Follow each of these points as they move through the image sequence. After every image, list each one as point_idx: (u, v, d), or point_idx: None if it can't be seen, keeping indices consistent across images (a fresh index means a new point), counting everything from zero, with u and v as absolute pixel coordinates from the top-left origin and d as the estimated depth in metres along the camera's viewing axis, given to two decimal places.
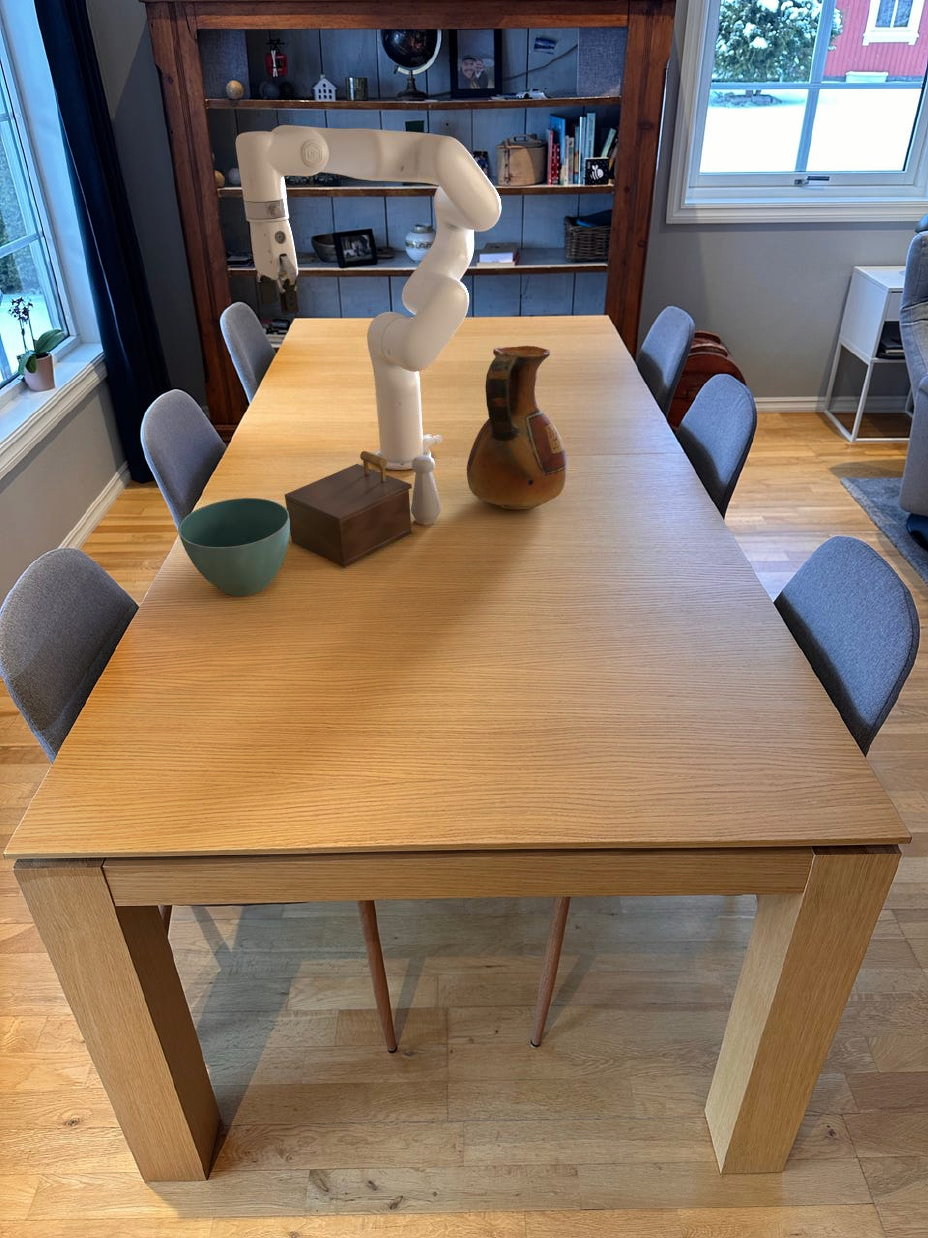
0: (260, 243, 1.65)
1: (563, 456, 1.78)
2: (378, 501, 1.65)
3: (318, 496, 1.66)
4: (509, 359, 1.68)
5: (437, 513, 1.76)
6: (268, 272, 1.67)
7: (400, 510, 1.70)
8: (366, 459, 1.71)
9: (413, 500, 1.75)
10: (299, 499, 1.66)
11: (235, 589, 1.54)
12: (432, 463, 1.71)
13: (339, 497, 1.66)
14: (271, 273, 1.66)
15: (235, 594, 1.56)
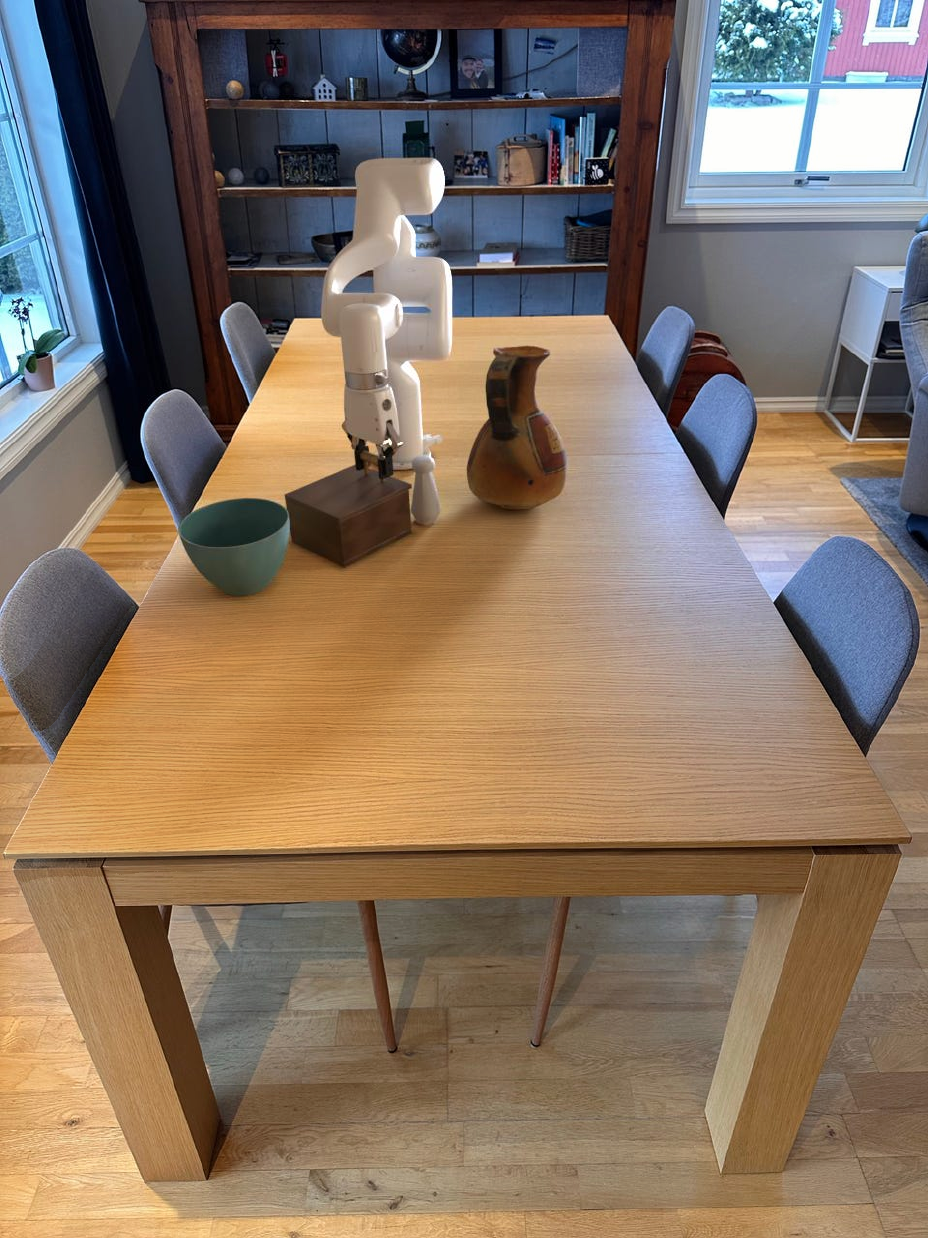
0: (363, 411, 1.63)
1: (563, 456, 1.78)
2: (378, 501, 1.65)
3: (318, 496, 1.66)
4: (509, 359, 1.68)
5: (437, 513, 1.76)
6: (371, 438, 1.65)
7: (400, 510, 1.70)
8: (366, 459, 1.71)
9: (413, 500, 1.75)
10: (299, 499, 1.66)
11: (235, 589, 1.54)
12: (432, 463, 1.71)
13: (339, 497, 1.66)
14: (376, 439, 1.64)
15: (235, 594, 1.56)
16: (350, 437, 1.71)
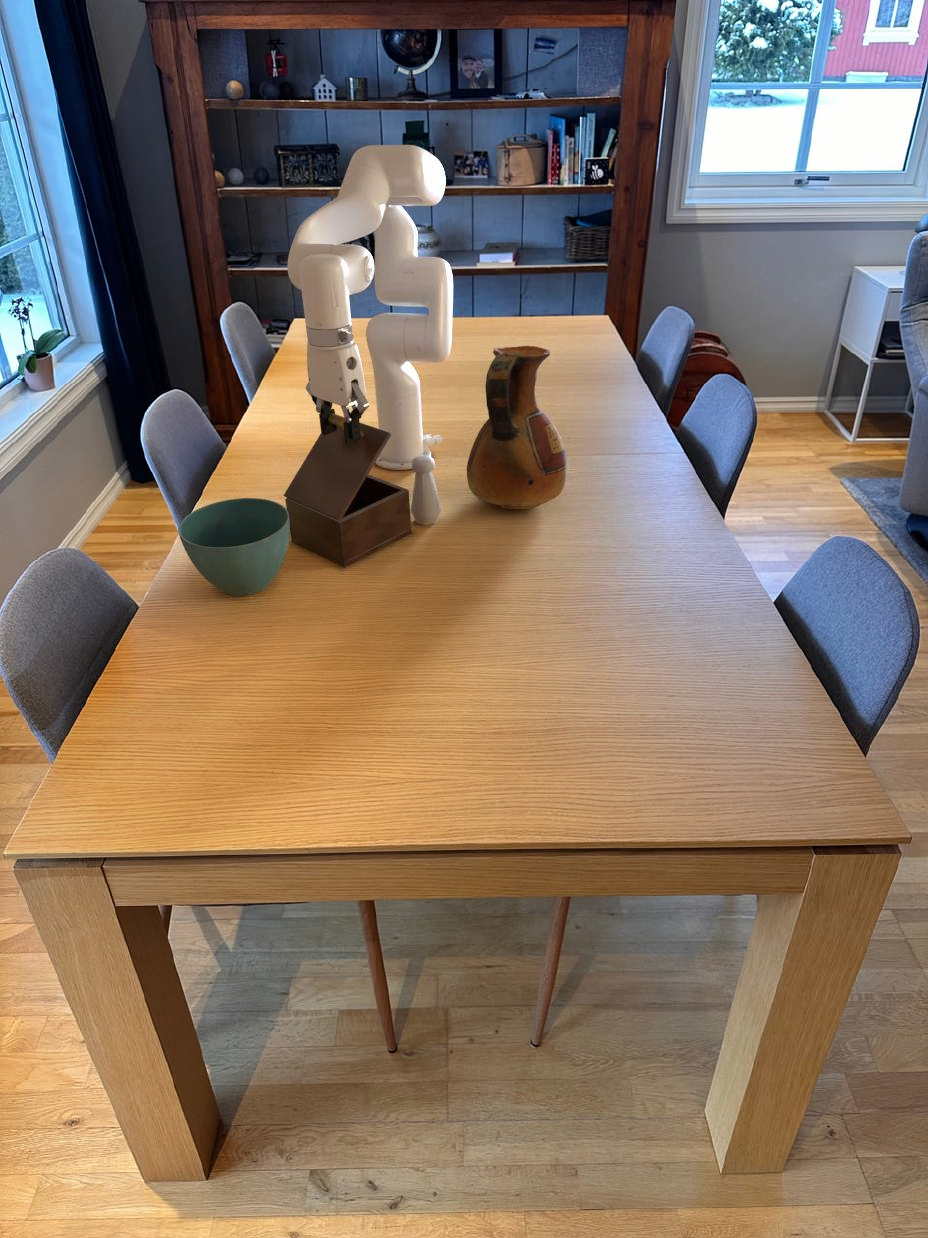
0: (326, 370, 1.53)
1: (563, 456, 1.78)
2: (366, 474, 1.60)
3: (312, 488, 1.65)
4: (509, 359, 1.68)
5: (437, 513, 1.76)
6: (336, 399, 1.56)
7: (400, 510, 1.70)
8: (336, 424, 1.62)
9: (413, 500, 1.75)
10: (297, 499, 1.65)
11: (235, 589, 1.54)
12: (432, 463, 1.71)
13: (330, 482, 1.63)
14: (341, 400, 1.55)
15: (235, 594, 1.56)
16: (315, 399, 1.62)
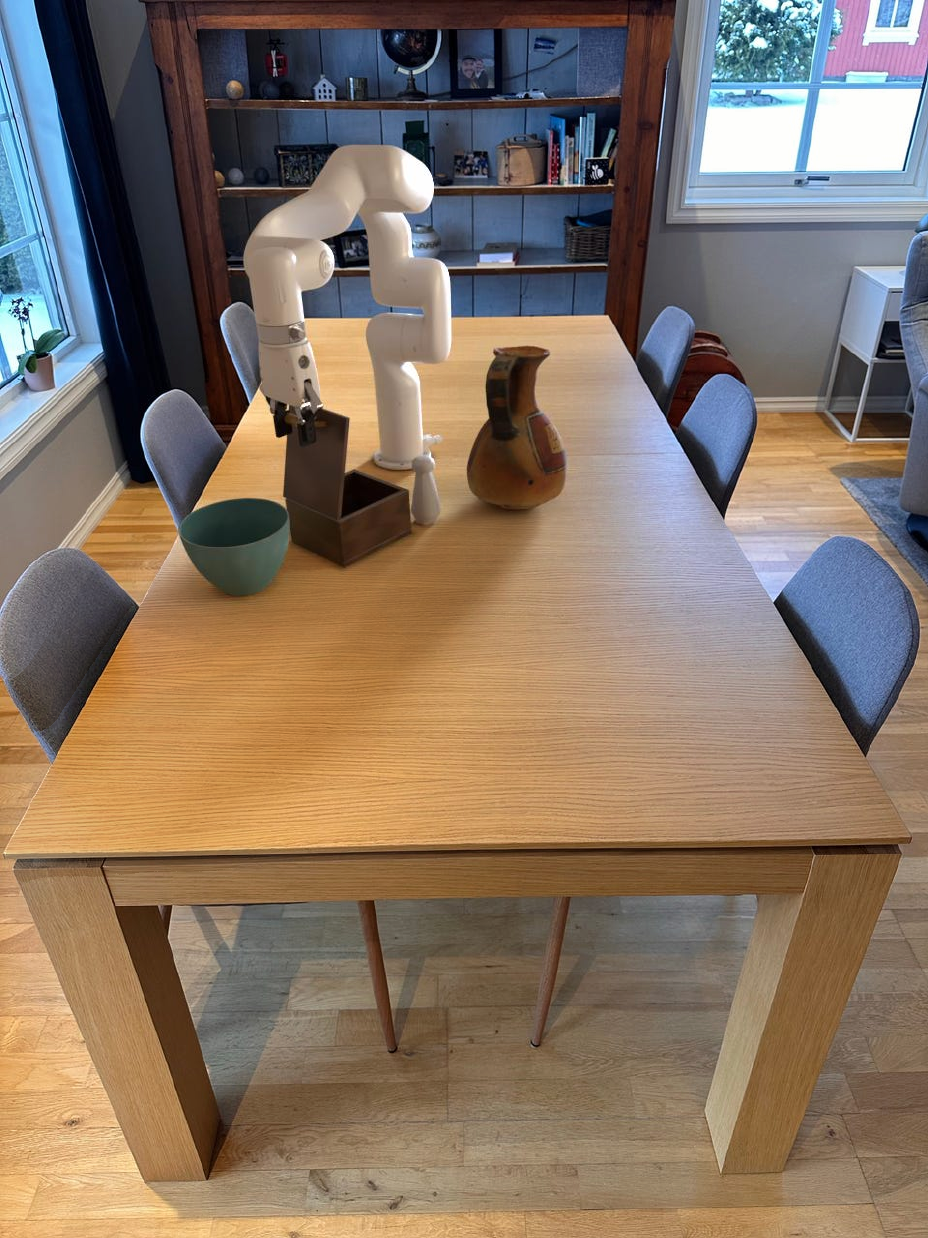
0: (278, 369, 1.46)
1: (563, 456, 1.78)
2: (343, 467, 1.56)
3: (304, 487, 1.63)
4: (509, 359, 1.68)
5: (437, 513, 1.76)
6: (288, 400, 1.48)
7: (400, 510, 1.70)
8: None
9: (413, 500, 1.75)
10: (296, 500, 1.65)
11: (235, 589, 1.54)
12: (432, 463, 1.71)
13: (316, 479, 1.60)
14: (293, 401, 1.48)
15: (235, 594, 1.56)
16: (268, 400, 1.55)
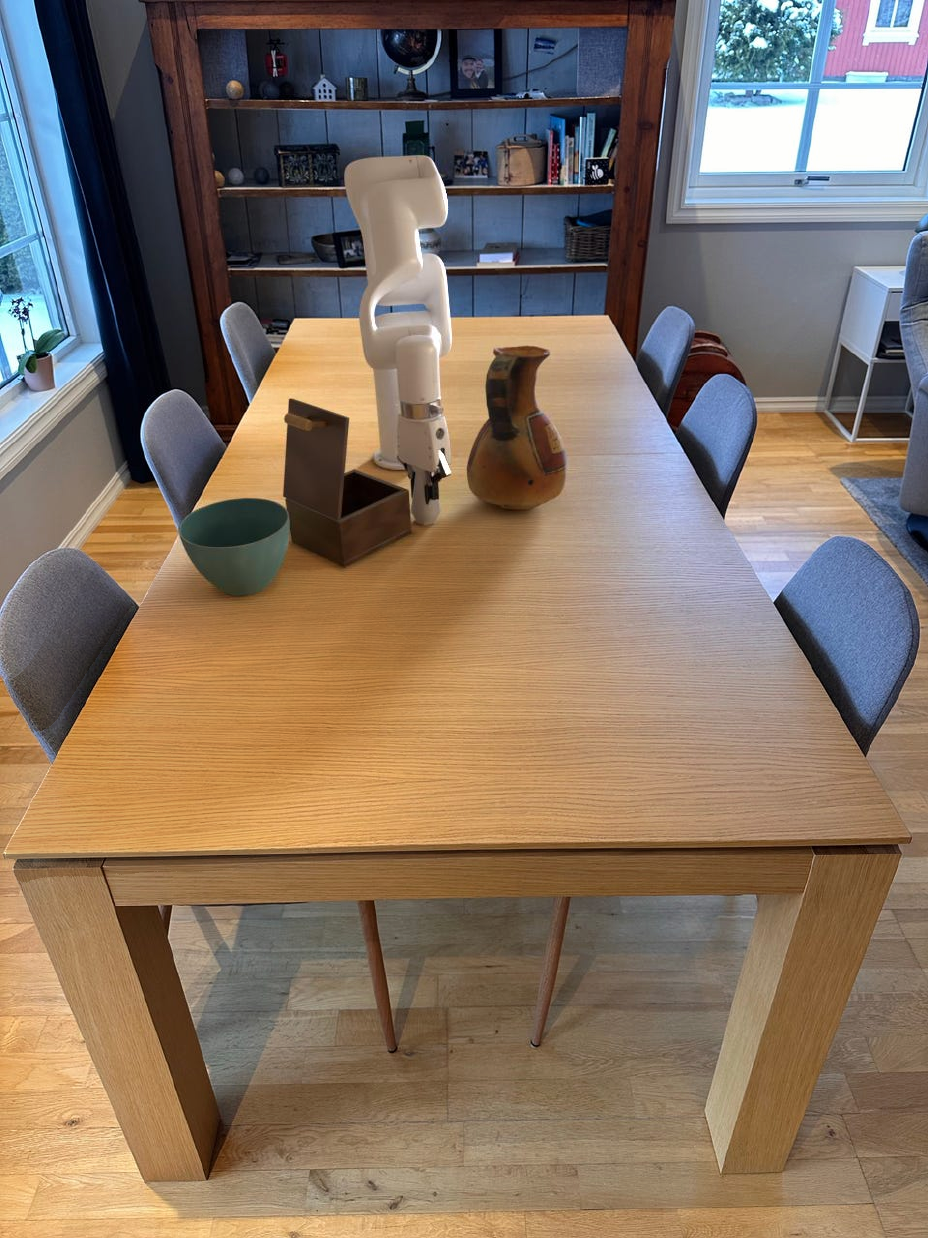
0: (416, 439, 1.67)
1: (563, 456, 1.78)
2: (343, 467, 1.56)
3: (303, 487, 1.63)
4: (509, 359, 1.68)
5: (437, 513, 1.76)
6: (424, 465, 1.69)
7: (400, 510, 1.70)
8: None
9: (413, 500, 1.75)
10: (296, 500, 1.65)
11: (235, 589, 1.54)
12: None
13: (316, 479, 1.60)
14: (428, 466, 1.68)
15: (235, 594, 1.56)
16: (406, 467, 1.75)
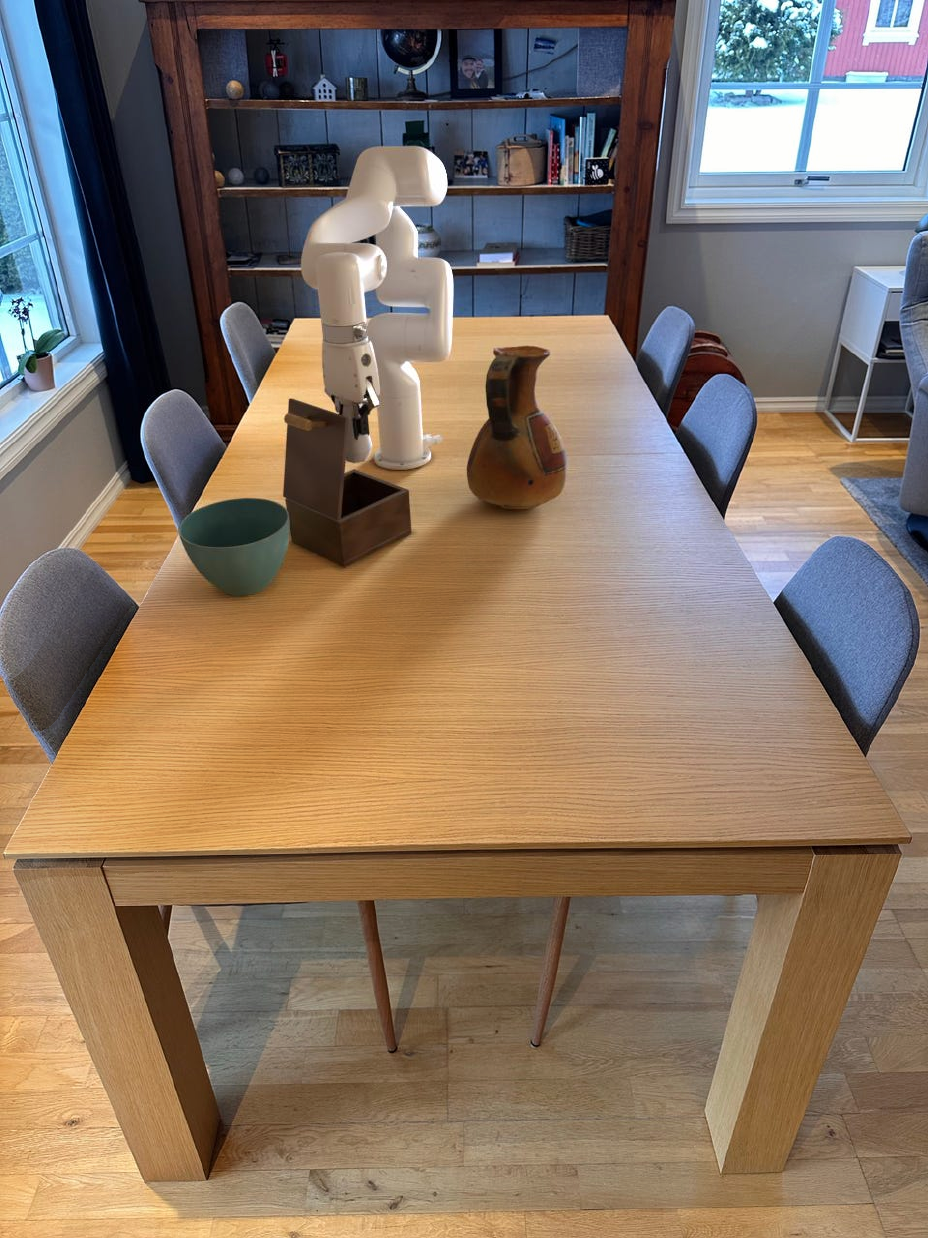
0: (341, 366, 1.56)
1: (563, 456, 1.78)
2: (343, 467, 1.56)
3: (303, 487, 1.63)
4: (509, 359, 1.68)
5: (367, 450, 1.65)
6: (350, 395, 1.58)
7: (400, 510, 1.70)
8: None
9: None
10: (296, 500, 1.65)
11: (235, 589, 1.54)
12: None
13: (316, 479, 1.60)
14: (355, 396, 1.57)
15: (235, 594, 1.56)
16: (334, 399, 1.63)
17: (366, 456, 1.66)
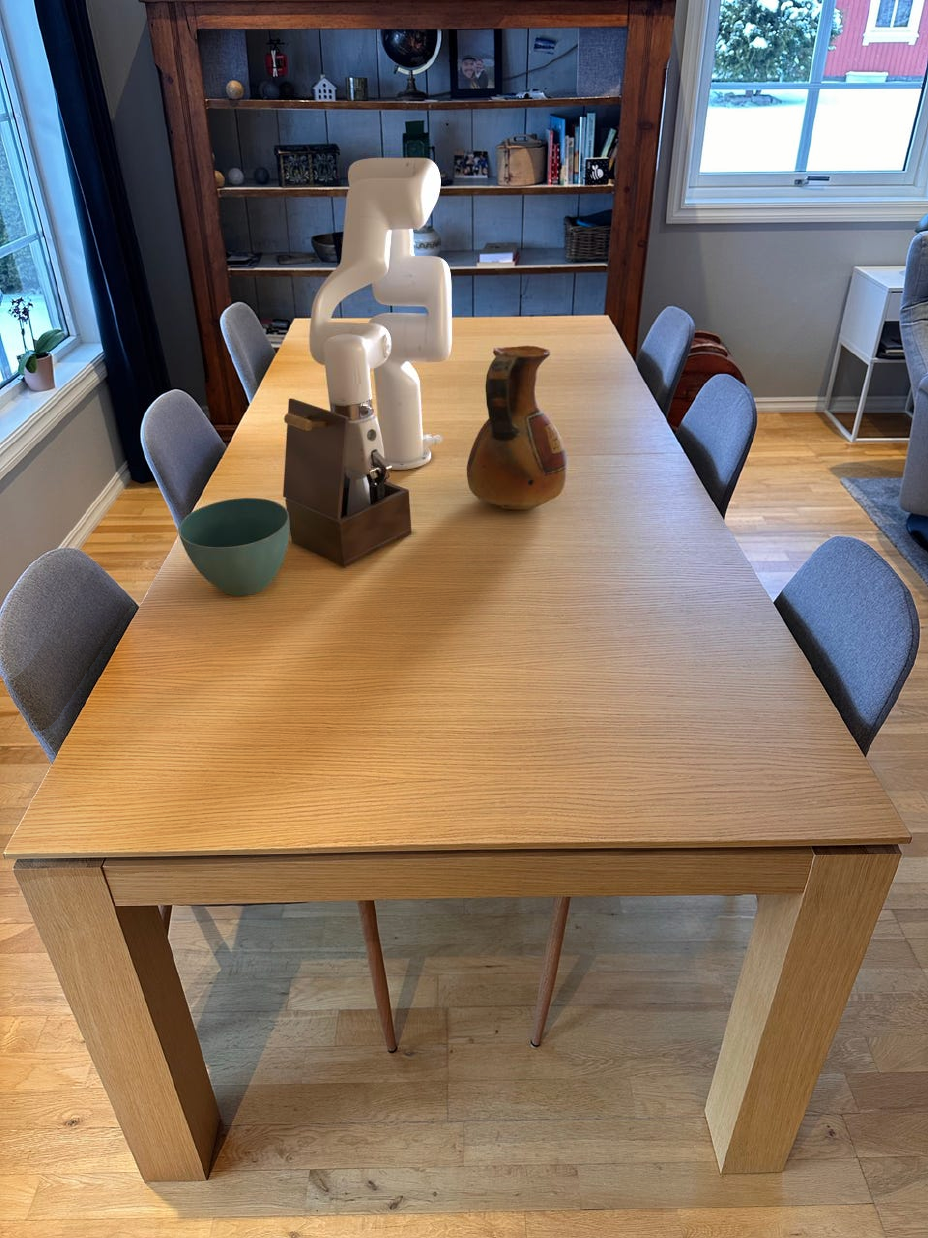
0: (348, 441, 1.63)
1: (563, 456, 1.78)
2: (343, 467, 1.56)
3: (303, 487, 1.63)
4: (509, 359, 1.68)
5: None
6: (356, 467, 1.65)
7: (400, 510, 1.70)
8: None
9: (348, 506, 1.72)
10: (296, 500, 1.65)
11: (235, 589, 1.54)
12: None
13: (316, 479, 1.60)
14: (361, 469, 1.64)
15: (235, 594, 1.56)
16: None
17: None
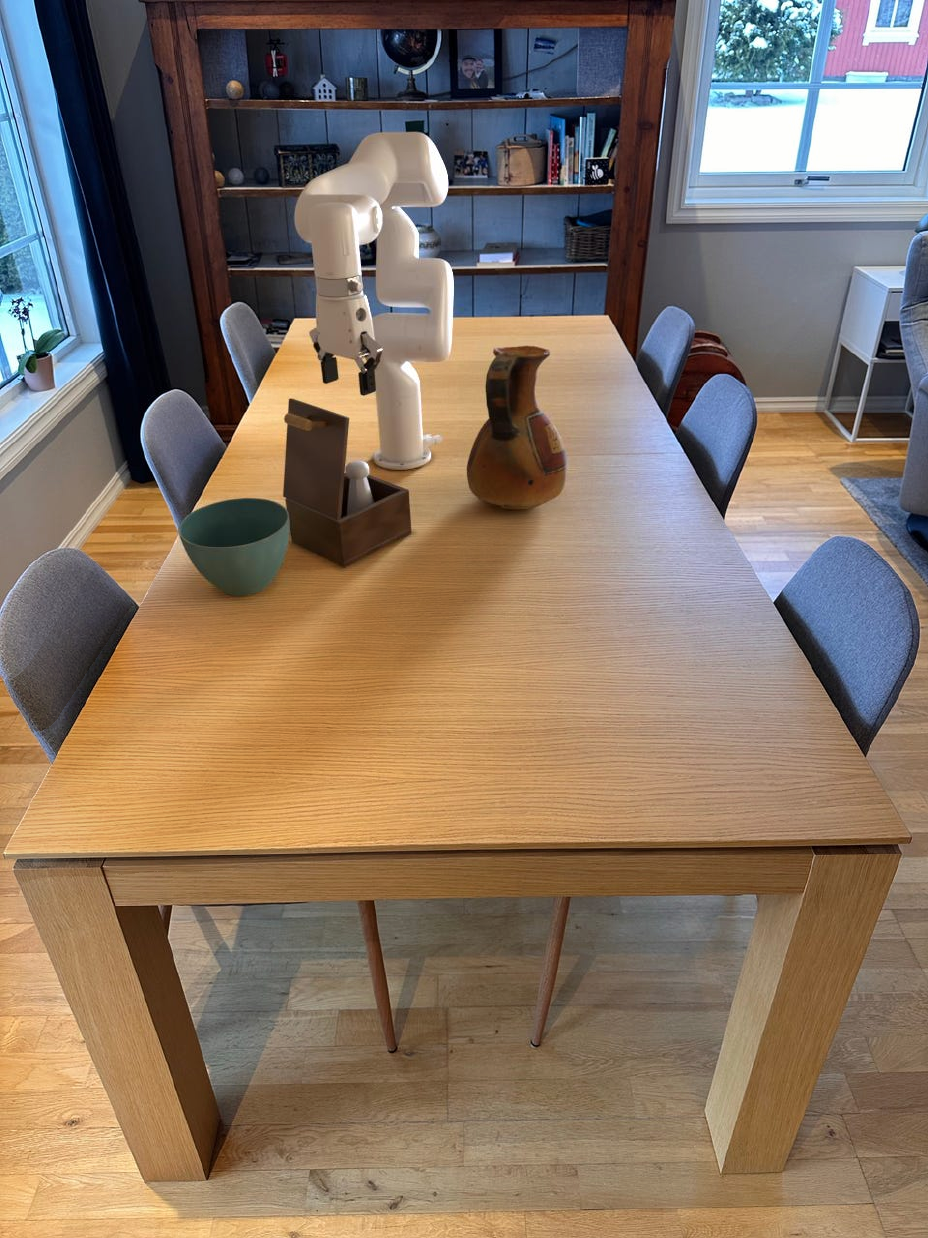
0: (335, 322, 1.51)
1: (563, 456, 1.78)
2: (343, 467, 1.56)
3: (303, 487, 1.63)
4: (509, 359, 1.68)
5: None
6: (345, 352, 1.54)
7: (400, 510, 1.70)
8: None
9: (348, 506, 1.72)
10: (296, 500, 1.65)
11: (235, 589, 1.54)
12: (366, 469, 1.68)
13: (316, 479, 1.60)
14: (350, 353, 1.53)
15: (235, 594, 1.56)
16: (316, 347, 1.60)
17: None
